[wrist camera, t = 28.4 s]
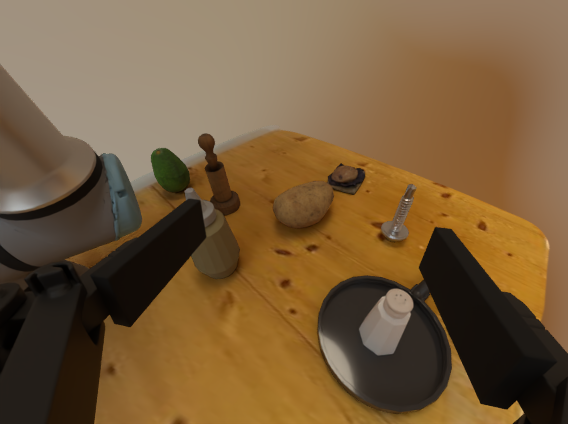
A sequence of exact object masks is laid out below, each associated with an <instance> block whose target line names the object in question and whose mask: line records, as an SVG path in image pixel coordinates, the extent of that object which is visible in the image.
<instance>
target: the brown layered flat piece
mask: <svg viewBox="0 0 568 424" xmlns="http://www.w3.org/2000/svg"><path fill="white" fill-rule="evenodd" d="M364 177H365V171H364V170H362V169H361V168H357V169H355V168H354V167H350V166H344V165H343V164H342V163H341V164H340V165H339V166H338V167H337V168H336V169H335V170H334V172H333V173H332V174H331V175H329V176H328V182H327V184H329V185H330V186H332V188H333V189H336V190H340V191H342V192H346V193H350V194H353V195H354V194H355V192H356V191H357V190H358V188H359V187H360V185H361V183H362V182H363V180H364Z"/></svg>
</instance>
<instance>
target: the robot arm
mask: <svg viewBox="0 0 568 424" xmlns="http://www.w3.org/2000/svg"><path fill="white" fill-rule="evenodd" d="M141 223H142V216H141V212H140V208H139V205H138V202H137V199H136V196H135V194H134V191H133V188H132V186H131V183H130V181H129V179H128V176H127V174H126V172H125V170H124V168H123V166H122V164H121V162H120V160H119V159H118V157H117V156H116V155H114V154H105V153H103V154H102V155H101V156H98V155H97V154H96V153H95V152H94V151H93V149H92V148H91V147H90V146H89V145H88V144H87V143H86V142H84V141H82V140H80V139H77V138H73V137H68V136H63V135H62V134H61V133H60V132H59V131H58V130H57V128H56V127H55V126H54V125H53V124H52V123H51V122H50V121H49V120H48V118H47V117H46V116H45V115H44V114H43V112H42V111H41V110H40V109H39V108H38V107H37V106H36V105H35V103H34V102H33V101H32V100H31V99H30V98H29V97H28V96H27V94H26V93H25V92H24V91H23V90H22V89H21V87H20V86H19V85H18V84H17V83H16V82H15V81H14V79H13V78H12V77H11V76H10V75H9V74H8V73H7V71H6V70H5V69H4V68H3V67H2V66H1V65H0V424H94V420H95V412H96V403H97V394H98V386H99V377H100V369H101V360H102V351H103V343H104V334H105V323H104V320H105V319H106V318H107V317H108V316H109V315H110V316H111V318H112V320H113V322H114V324H118V325H123V326H127V327H131V326H132V325H133V324H134V322H135V321H136V320H137V319H138V318H139V316H140V315H141V314H142V313H143V312H144V311H145V309H146V308H147V307H148V306H149V305H150V303H151V302H152V301H153V300H154V299H155V298H156V296H157V295H158V294H159V293H160V292H161V290H162V289H163V288H164V287H165V286H166V285H167V283H168V282H169V281H170V280H171V279H172V278H173V276H174V275H175V274H176V273H177V272H178V270H179V269H180V268H181V267H182V266H183V265H184V263H185V262H186V261H187V260H188V259H189V257H190V256H191V255H192V254H193V253H194V252H195V250H196V249H197V248H198V247H199V246H200V244H201V243H202V242H203V241H204V240H205V239H206V231H205V224H204V218H203V212H202V206H201V200H198V199H188V200H186V201H185V202H184V203H182V204H181V205H180V206H178V207H177V208H176V209H175V210H173V211H172V212H171V213H169V214H168V215H167V216H166V217H164V218H163V219H162V220H160V221H159V222H158V223H156V224H155V225H154V226H153V227H151V228H150V229H149V230H147V231H146V232H145V233H144V234H142V235H141V236H140V237H138V238H137V237H136V238H134V239H132V240H130V241H127V242H125V243H124V244H122V245H121V246H120V247H118V248H117V249H116V250H115V251H113V252H112V253H110V254H109V255H108V257H105V258H104V259H102V260H101V261H100V262H98V263H97V264H96V265H94V266H93V267H92V268H90V269H89V268H87V267H85V266H83V265H80V264H76V263H73V262H70V261H67V260H64V259H67V258H69V257H72V256H75V255H77V254H80V253H83V252H85V251H88V250H91V249H94V248H96V247H99V246H102V245H104V244H107V243H110V242H113V241H117V240H119V239H120V238H121V237H123V236H125V235H128V234H130V233H132V232H134V231H136V230H137V229H138V228H139V227H140V226H141ZM419 269H420V271H421V274H422V276H423V278H424V280H425V282H426V285H427V287H428V289H429V291H430V293H431V296H432V298H433V300H434V302H435V304H436V307H437V309H438V311H439V313H440V315H441V318H442V320H443V322H444V324H445V326H446V329H447V331H448V333H449V335H450V337H451V339H452V342H453V344H454V346H455V348H456V350H457V353H458V355H459V357H460V359H461V361H462V364H463V366H464V368H465V370H466V372H467V375H468V377H469V379H470V381H471V383H472V386H473V388H474V390H475V392H476V394H477V397H478V399H479V401H480V403H481V404H484V405H489V406H493V407H498V408H502V409H508V408H509V407H510V406H511V405H512V404H513V403H514V402H516V401H518V403H519V405H520V406H521V408H522V410H523V412H524V414H523V415H522V416H521V417H520V418H519V419H518V420H516V421H515V422H514V423H513V424H568V353H567V352H566V351H565V350H564V349H563V348H562V347H561V345H560V344H559V343H558V342H557V341H556V340H555V339H554V337H553V336H552V335H551V334H550V333H549V332H548V330H545V327H544V326H543V325H542V323H541V322H540V321H539V320H538V319H536V316H535V315H534V314H533V313H532V312H531V311H530V309H529V308H528V307H527V306H526V305H525V304H524V303H523V302H521V301H520V300H519V299H517V298H516V297H515V296H513V295H512V294H511V293H508V292H501V290H500V289H499V288H498V287H497V285H496V284H495V283H494V282H493V280H492V279H491V278H490V277H489V275H488V274H487V273H486V272H485V270H484V269H483V268H482V267H481V265H480V264H479V263H478V262H477V260H476V259H475V258H474V257H473V255H472V254H471V253H470V252H469V250H468V249H467V248H466V247H465V245H464V244H463V243H462V242H461V241H460V239H459V238H458V237H457V236H456V234H455V233H454V232H453V231H452V229H447V228H438V227H435V229H434V231H433V234H432V236H431V239H430V241H429V243H428V246H427V248H426V251H425V253H424V256H423V258H422V261H421V263H420V266H419Z"/></svg>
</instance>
